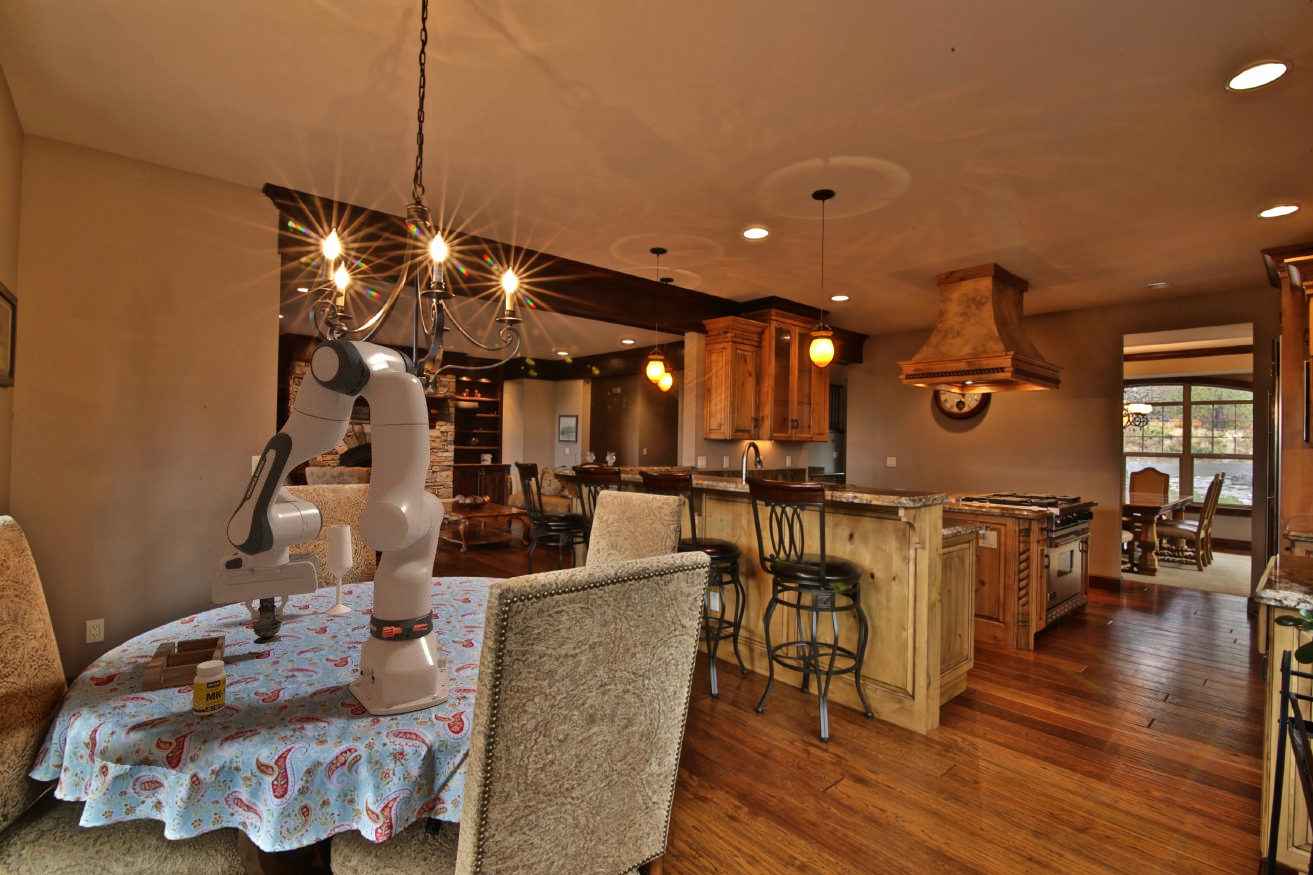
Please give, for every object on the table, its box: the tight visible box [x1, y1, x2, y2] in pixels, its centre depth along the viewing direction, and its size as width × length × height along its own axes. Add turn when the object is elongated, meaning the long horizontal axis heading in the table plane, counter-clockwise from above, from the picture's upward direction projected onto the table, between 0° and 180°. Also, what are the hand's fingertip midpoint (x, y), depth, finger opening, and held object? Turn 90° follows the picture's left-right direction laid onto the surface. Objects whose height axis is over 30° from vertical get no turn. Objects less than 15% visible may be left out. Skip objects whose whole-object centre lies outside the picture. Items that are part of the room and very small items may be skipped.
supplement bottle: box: [192, 660, 227, 716], centre depth 109 cm, size 5×5×8 cm
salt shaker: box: [251, 597, 283, 645], centre depth 137 cm, size 6×6×12 cm
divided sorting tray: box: [142, 635, 226, 692], centre depth 126 cm, size 18×12×4 cm, turn 31°
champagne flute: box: [324, 524, 354, 615], centre depth 169 cm, size 7×7×24 cm
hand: (267, 617), depth 137 cm, fingers closed on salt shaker, 3 cm apart
